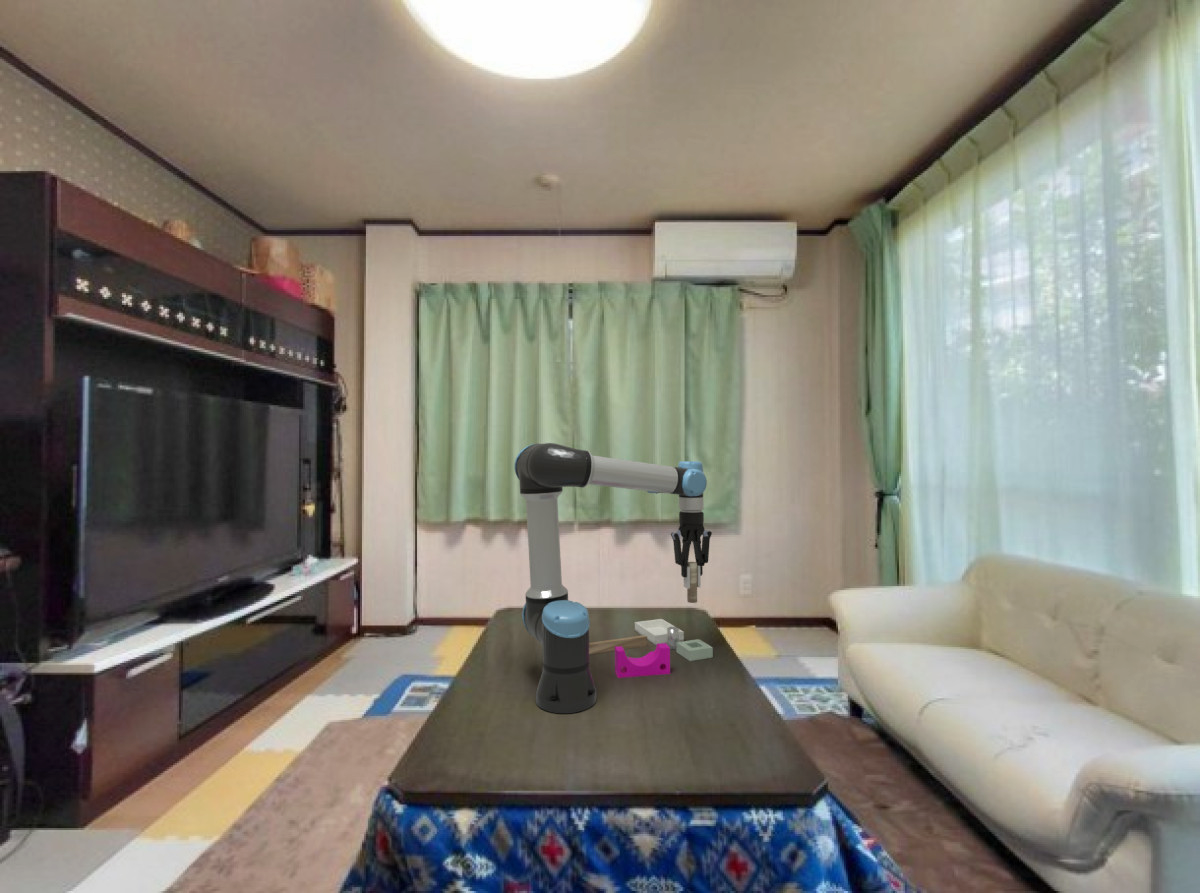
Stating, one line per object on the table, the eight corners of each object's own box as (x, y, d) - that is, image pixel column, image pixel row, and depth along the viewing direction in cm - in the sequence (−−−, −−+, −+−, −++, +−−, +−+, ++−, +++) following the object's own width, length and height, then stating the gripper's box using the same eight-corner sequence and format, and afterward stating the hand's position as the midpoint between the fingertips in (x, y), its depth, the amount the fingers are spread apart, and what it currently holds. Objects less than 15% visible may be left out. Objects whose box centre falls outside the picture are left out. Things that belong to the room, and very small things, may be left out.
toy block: (663, 666, 159) (663, 640, 160) (670, 674, 153) (669, 647, 153) (613, 669, 157) (613, 643, 157) (617, 678, 151) (617, 651, 151)
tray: (683, 640, 180) (683, 631, 180) (655, 645, 176) (655, 635, 176) (661, 627, 195) (661, 618, 195) (634, 630, 191) (634, 622, 191)
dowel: (699, 602, 168) (698, 563, 168) (690, 603, 167) (690, 563, 167) (694, 599, 171) (693, 561, 171) (685, 600, 170) (685, 562, 170)
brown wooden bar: (647, 645, 176) (647, 636, 176) (582, 655, 168) (582, 645, 168) (645, 644, 177) (645, 635, 177) (581, 653, 169) (581, 643, 169)
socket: (712, 657, 165) (712, 647, 165) (689, 661, 163) (689, 650, 163) (698, 648, 173) (698, 639, 173) (676, 652, 170) (676, 642, 170)
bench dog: (680, 648, 173) (680, 629, 173) (670, 650, 172) (670, 631, 172) (675, 645, 176) (675, 626, 176) (665, 646, 175) (665, 627, 175)
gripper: (707, 508, 176) (708, 582, 175) (662, 510, 170) (663, 586, 170) (720, 510, 169) (721, 587, 168) (674, 513, 163) (674, 592, 163)
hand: (692, 586), depth 169 cm, fingers closed on dowel, 3 cm apart
